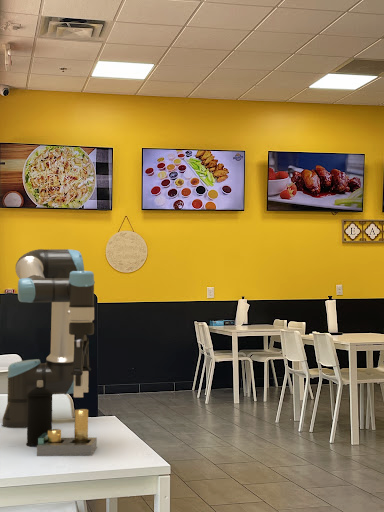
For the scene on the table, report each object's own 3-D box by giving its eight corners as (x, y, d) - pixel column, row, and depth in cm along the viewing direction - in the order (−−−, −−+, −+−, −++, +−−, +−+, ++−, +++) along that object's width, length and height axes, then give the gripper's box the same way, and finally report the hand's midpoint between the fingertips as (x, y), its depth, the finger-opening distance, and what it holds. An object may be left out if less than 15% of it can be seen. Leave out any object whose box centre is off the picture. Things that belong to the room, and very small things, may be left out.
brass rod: (75, 449, 223) (75, 409, 224) (88, 449, 223) (89, 409, 224) (73, 451, 219) (73, 411, 220) (86, 451, 219) (87, 411, 220)
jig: (44, 447, 227) (44, 427, 228) (96, 447, 227) (96, 426, 228) (36, 455, 215) (37, 434, 216) (91, 455, 215) (91, 433, 216)
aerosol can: (46, 447, 228) (47, 382, 229) (21, 446, 229) (22, 381, 230) (56, 442, 236) (57, 379, 237) (32, 441, 237) (33, 379, 238)
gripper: (74, 320, 235) (74, 390, 234) (62, 322, 212) (62, 399, 211) (98, 320, 235) (98, 389, 234) (88, 322, 212) (88, 399, 211)
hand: (81, 394), depth 222 cm, fingers open, 11 cm apart
